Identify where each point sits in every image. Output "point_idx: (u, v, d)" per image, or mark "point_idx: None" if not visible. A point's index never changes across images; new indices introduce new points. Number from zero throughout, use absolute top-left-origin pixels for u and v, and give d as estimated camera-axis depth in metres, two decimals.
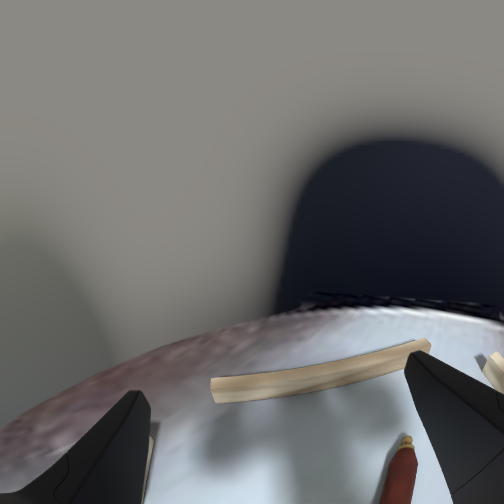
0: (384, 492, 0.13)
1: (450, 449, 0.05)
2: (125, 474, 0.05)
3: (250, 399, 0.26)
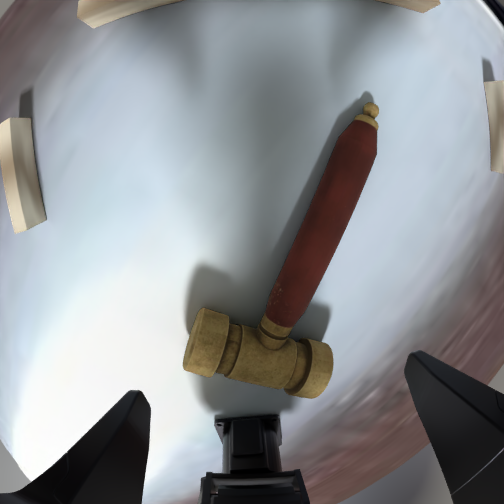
0: (324, 183, 0.15)
1: (450, 449, 0.05)
2: (125, 474, 0.05)
3: (140, 9, 0.11)
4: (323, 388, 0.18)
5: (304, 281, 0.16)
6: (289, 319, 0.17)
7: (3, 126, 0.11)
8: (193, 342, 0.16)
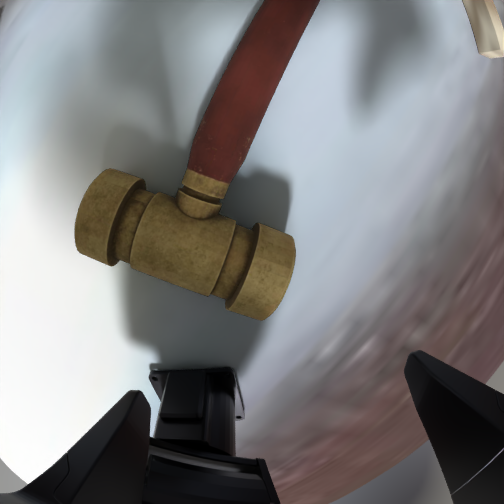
0: (259, 9, 0.10)
1: (450, 449, 0.05)
2: (125, 474, 0.05)
3: None
4: (279, 293, 0.12)
5: (233, 102, 0.10)
6: (215, 163, 0.11)
7: None
8: (84, 196, 0.11)
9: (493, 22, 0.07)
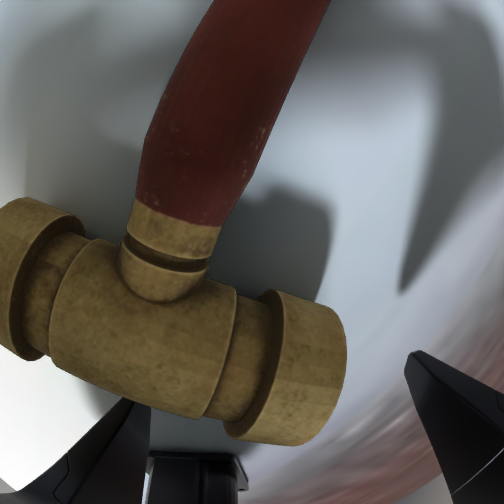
0: None
1: (450, 449, 0.05)
2: (125, 474, 0.05)
3: None
4: (316, 428, 0.06)
5: (228, 49, 0.04)
6: (188, 186, 0.05)
7: None
8: None
9: None
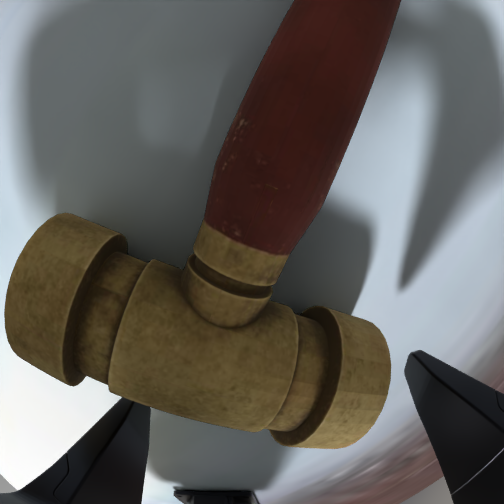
0: None
1: (450, 449, 0.05)
2: (125, 474, 0.05)
3: None
4: (364, 431, 0.06)
5: (314, 84, 0.04)
6: (272, 219, 0.05)
7: None
8: (9, 281, 0.04)
9: None
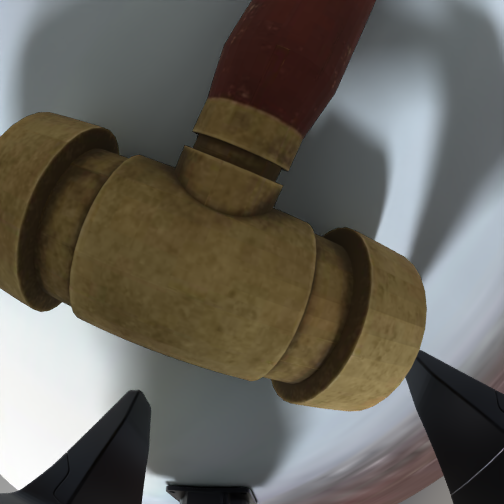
0: None
1: (450, 449, 0.05)
2: (125, 474, 0.05)
3: None
4: (399, 378, 0.05)
5: None
6: (284, 80, 0.04)
7: None
8: None
9: None
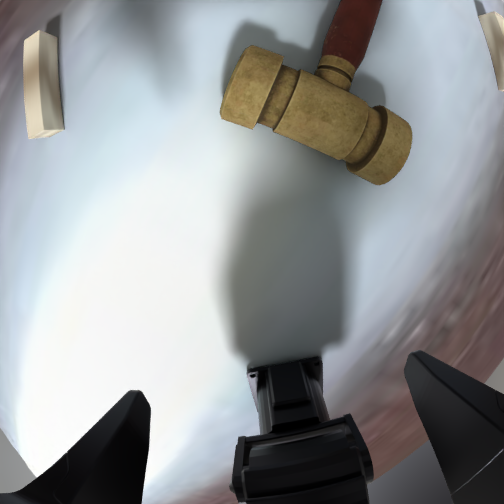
0: None
1: (450, 449, 0.05)
2: (125, 474, 0.05)
3: None
4: (408, 147, 0.12)
5: (358, 17, 0.11)
6: (351, 51, 0.12)
7: (31, 39, 0.09)
8: (243, 53, 0.11)
9: None
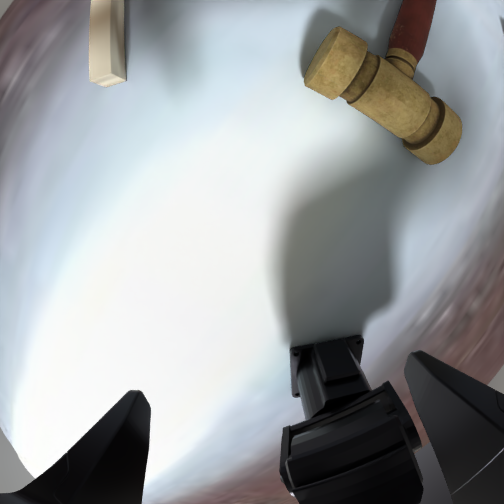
0: None
1: (450, 449, 0.05)
2: (125, 474, 0.05)
3: None
4: (460, 133, 0.12)
5: (419, 21, 0.11)
6: (415, 48, 0.12)
7: None
8: (336, 31, 0.11)
9: None
